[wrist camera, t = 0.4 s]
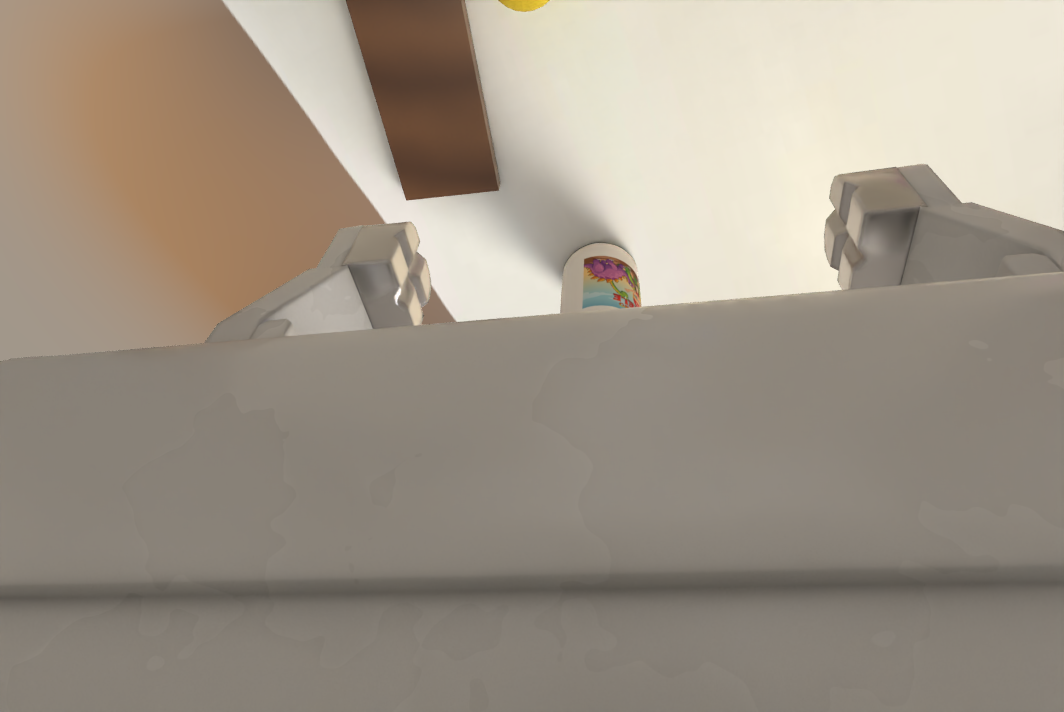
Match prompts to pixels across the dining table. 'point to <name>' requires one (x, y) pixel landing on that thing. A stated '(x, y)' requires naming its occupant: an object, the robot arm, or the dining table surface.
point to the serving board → (428, 94)
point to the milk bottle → (600, 280)
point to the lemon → (524, 4)
